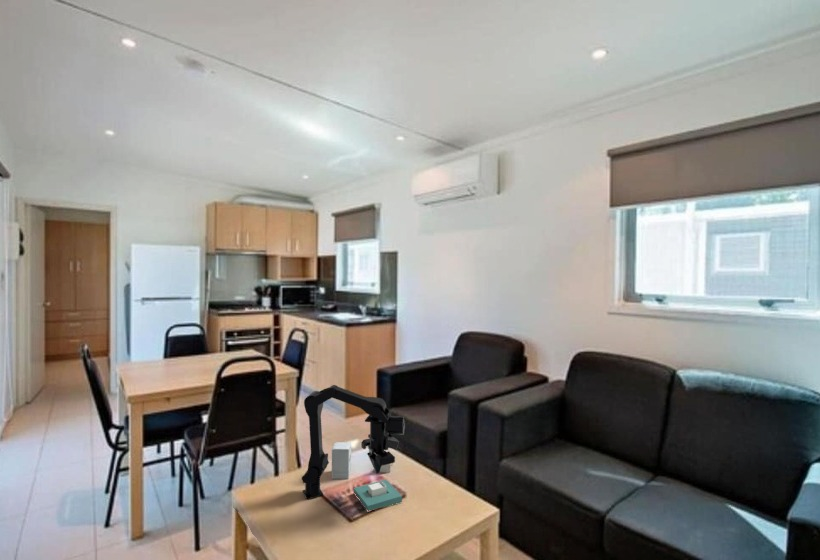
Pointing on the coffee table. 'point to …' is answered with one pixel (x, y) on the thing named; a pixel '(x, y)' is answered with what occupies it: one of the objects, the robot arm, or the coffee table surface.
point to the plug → (377, 489)
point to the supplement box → (341, 460)
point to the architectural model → (386, 468)
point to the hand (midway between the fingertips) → (377, 472)
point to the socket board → (381, 500)
